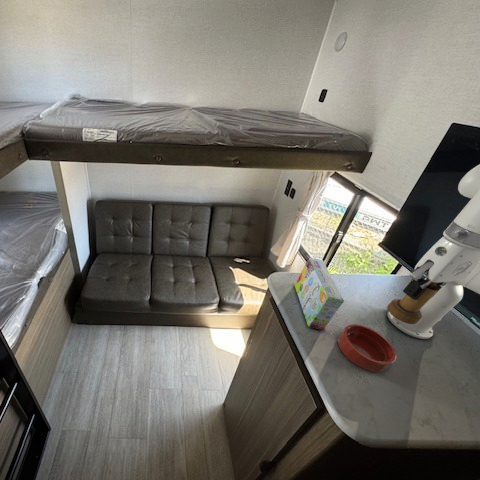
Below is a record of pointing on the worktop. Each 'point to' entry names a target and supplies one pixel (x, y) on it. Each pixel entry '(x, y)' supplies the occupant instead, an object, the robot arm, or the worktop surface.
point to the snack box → (317, 294)
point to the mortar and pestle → (412, 305)
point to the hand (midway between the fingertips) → (417, 294)
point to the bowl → (366, 348)
